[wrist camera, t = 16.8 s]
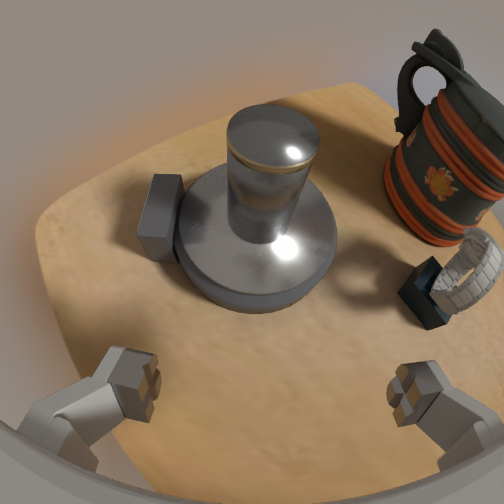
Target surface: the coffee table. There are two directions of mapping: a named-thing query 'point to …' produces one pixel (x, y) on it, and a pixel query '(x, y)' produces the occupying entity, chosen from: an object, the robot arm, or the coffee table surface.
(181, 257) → the scale
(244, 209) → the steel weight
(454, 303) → the watch
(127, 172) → the coffee table surface
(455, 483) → the robot arm
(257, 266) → the pan
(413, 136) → the beer stein
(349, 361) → the coffee table surface
